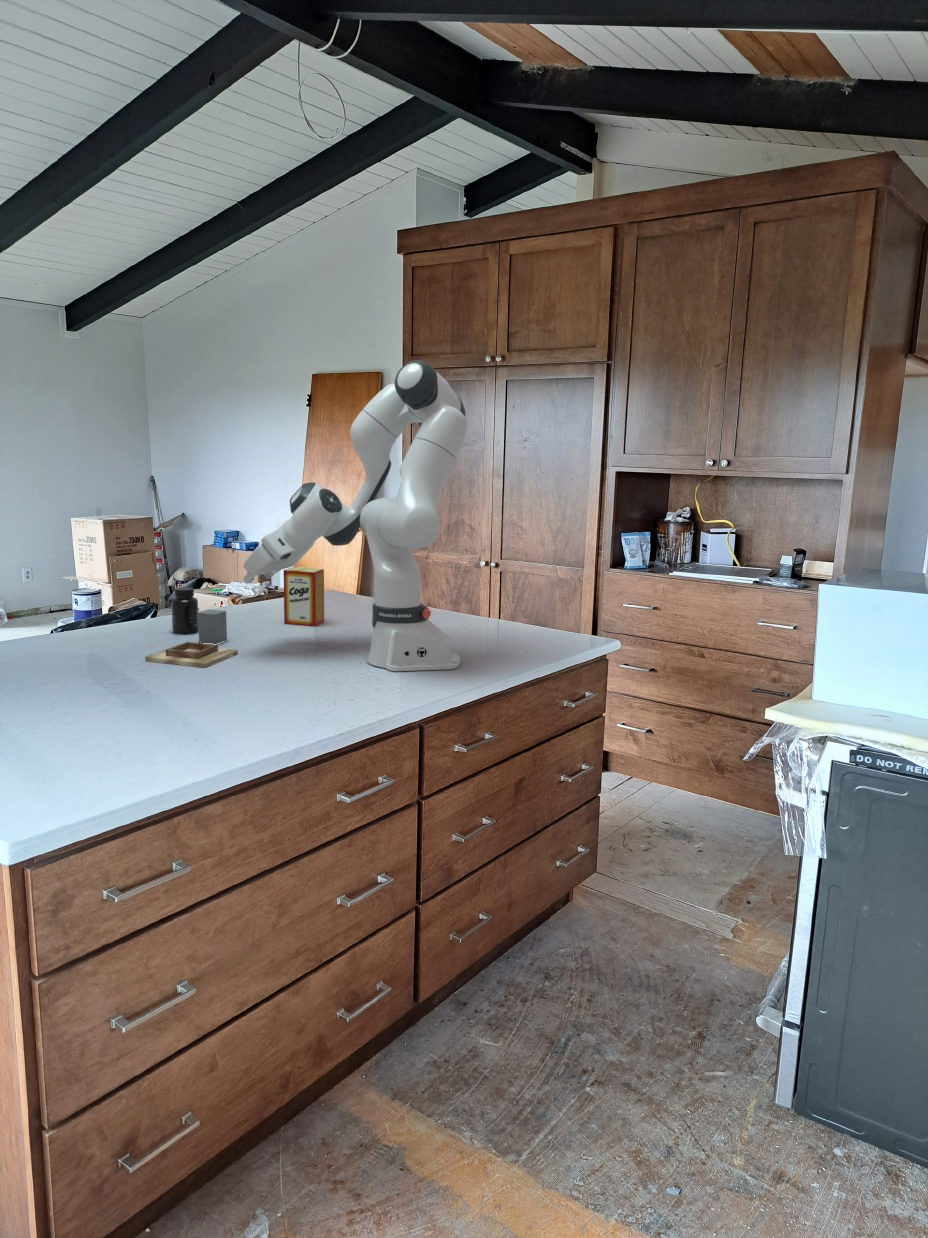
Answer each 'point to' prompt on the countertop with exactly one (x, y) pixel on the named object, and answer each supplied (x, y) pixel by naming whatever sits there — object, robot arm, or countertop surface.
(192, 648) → the socket plate
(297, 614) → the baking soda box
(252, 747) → the countertop surface
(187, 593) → the supplement bottle
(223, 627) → the plug block
